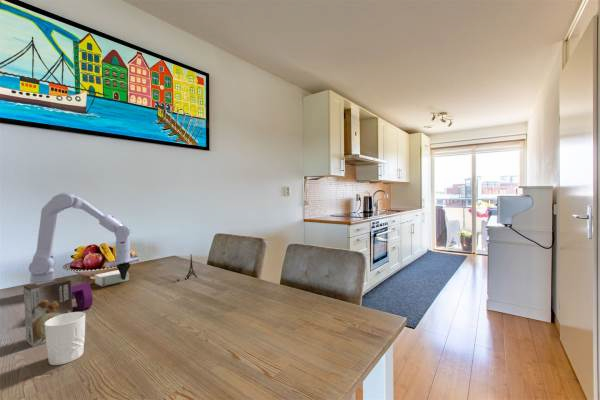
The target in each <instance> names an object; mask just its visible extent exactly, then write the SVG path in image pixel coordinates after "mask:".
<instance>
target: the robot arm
mask: <svg viewBox="0 0 600 400" xmlns="http://www.w3.org/2000/svg"><path fill="white" fill-rule="evenodd" d="M70 208H72V209H78V210H82V211H84V212H85V213H87V214H88V215H90V216H93V217H94V218H95V219H96V220H98V222H99V225H100V226H102V228H104V229H106V230H108V231H109V232H111V233H114V236H115V239H116V240H115V259H114V260H112V261H107V262H104V268H107V269H108V268H110V267H116V269H117V270H119V272H120V274H121V279H122V280H125V278H126V274H127V272H129V271H128V270H130V267H131V263H136V262H141V257H140V256H136V257H131V240H130V239H131V237H130V234H131V229H130V227H129V226H128V225H127V224H125V222H123V221H120V220H118V219H117V218H115V217H116V216H115V215H113V214H112V215H111V214H104V212H102V211H100V210H99V209H97V207H95V206H94V205H92V204H91V203H89V202H88V201H87V200H85V199H84V198H82V197H80V196H77V195H76V194H75V193H72V192H68V193H67V192H61V193H59V194H56V195H54V196H52V198H51V199H50V200H49V201H48V202H47V203H46V204H45V205H44V206H43V207H42V209H41V211H40V221H39V229H38V235H37V237H38V238H37V244H36V251H35V253H34V255H33V256H32V261H31V262H30V264H29V266H28V271H29V273H30V278H29V285H30V284H35V283H39V282H44V281H49V280H54V279H56V278H55V275H56V274H55V270H54V269H53V268H54V267H55V265H56V259H55V258H54V254H55V253H54V242H55V235H56V234H55V233H56V225H57V218H58V214H59V213H61V212H62V211H64V210H67V209H70Z"/></svg>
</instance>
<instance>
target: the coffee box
mask: <svg viewBox="0 0 600 400" xmlns="http://www.w3.org/2000/svg"><path fill="white" fill-rule="evenodd" d="M71 286H72V280H71V279H68V278H66V277H65V278H64V277H60V278H55V279H54V280H49V281H44V282H39V283H35V284H30V283H29V284H27V285H23V298H24V301H23V302H24V321H25V341H26V342H27V343H28V344H29V345H30V346H31V347H33V348H35V347H37V346H40V345H43V344H46V337H45V326H44V323H45V322H46V321H47V320H49V319H51V318H53V317H56V316H59V315H62V314H66V313H71V312H73V299H72V293H71Z"/></svg>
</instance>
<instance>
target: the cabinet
mask: <svg viewBox="0 0 600 400" xmlns="http://www.w3.org/2000/svg"><path fill="white" fill-rule="evenodd" d="M127 273H129V271H127ZM116 275H120V272H119V270H118V269H117V270H116V269H115V270H111V271H107V272H102V273H98V274H94V284H96V285H98V286H100V287H102V278H106V277H111V276H116Z"/></svg>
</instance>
